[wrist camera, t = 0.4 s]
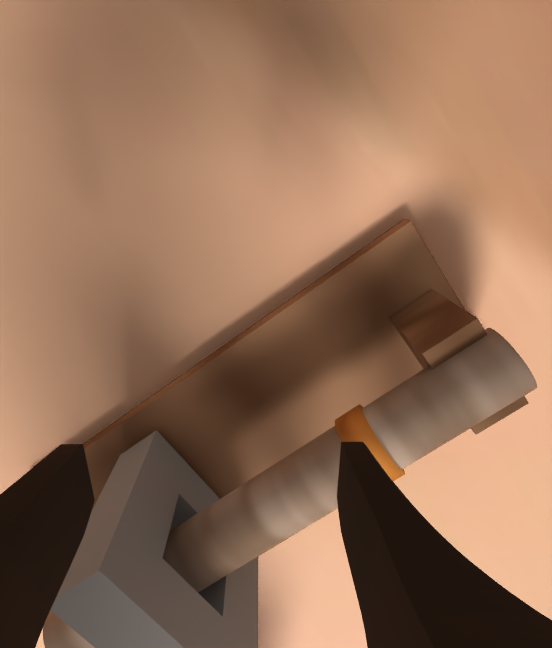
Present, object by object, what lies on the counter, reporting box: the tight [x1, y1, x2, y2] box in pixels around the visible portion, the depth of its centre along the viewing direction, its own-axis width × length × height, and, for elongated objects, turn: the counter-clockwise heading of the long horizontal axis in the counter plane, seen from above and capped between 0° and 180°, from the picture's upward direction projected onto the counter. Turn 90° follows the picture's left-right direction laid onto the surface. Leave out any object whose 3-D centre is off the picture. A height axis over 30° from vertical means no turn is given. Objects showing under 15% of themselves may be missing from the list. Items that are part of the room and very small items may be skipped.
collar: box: [51, 430, 258, 648], centre depth 20 cm, size 2×9×9 cm, turn 36°
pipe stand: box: [43, 219, 537, 648], centre depth 21 cm, size 24×11×7 cm, turn 126°
